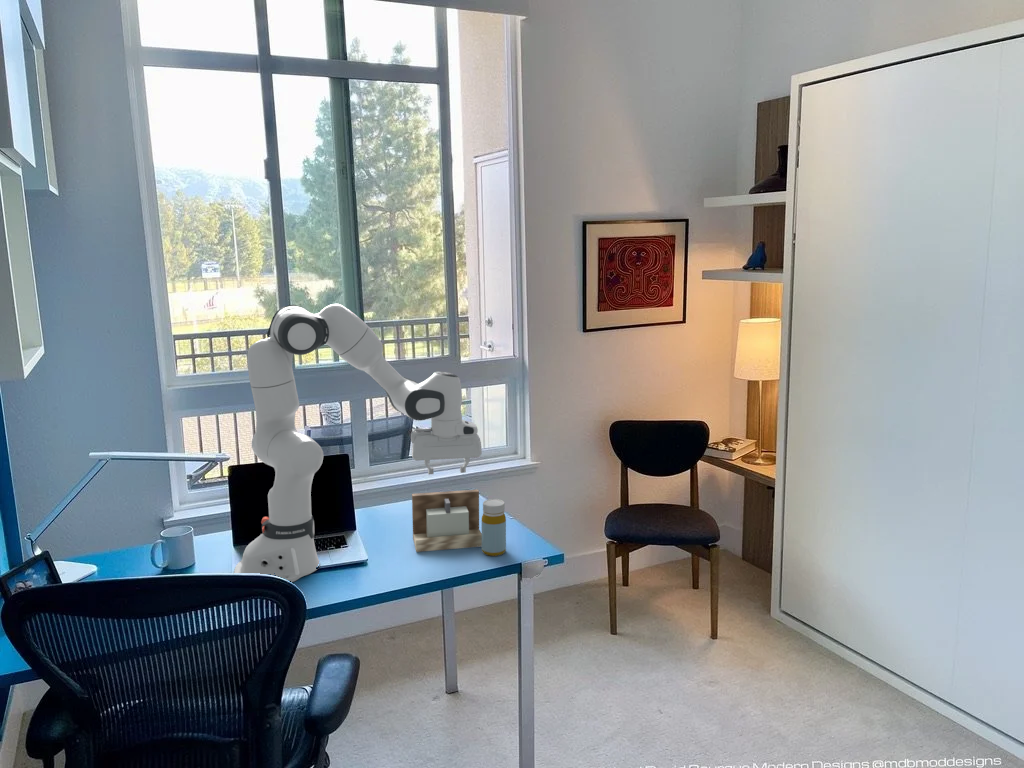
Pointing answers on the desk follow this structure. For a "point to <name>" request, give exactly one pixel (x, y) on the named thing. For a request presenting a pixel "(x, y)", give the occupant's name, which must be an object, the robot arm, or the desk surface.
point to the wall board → (437, 501)
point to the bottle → (493, 527)
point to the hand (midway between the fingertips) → (446, 473)
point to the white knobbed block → (447, 521)
